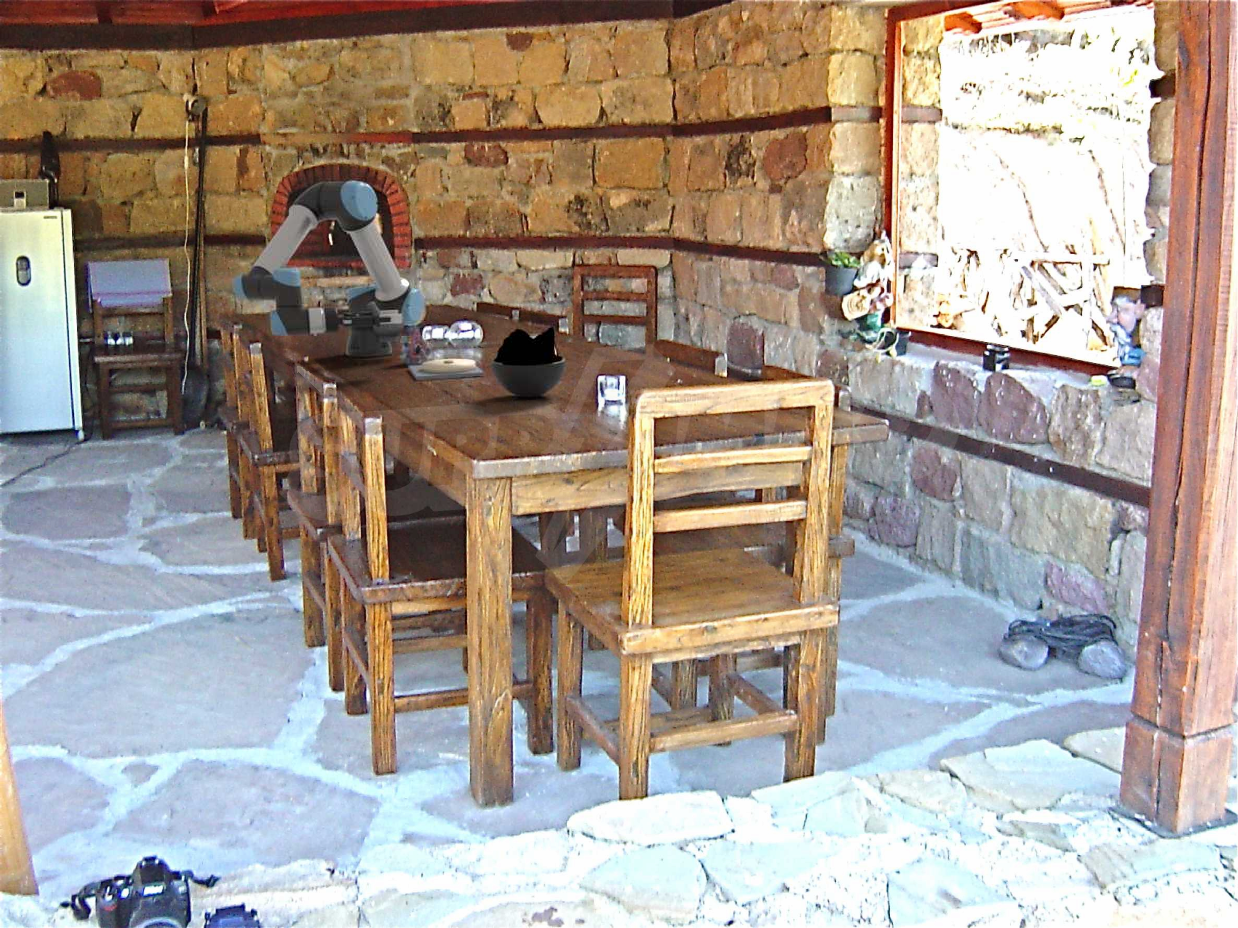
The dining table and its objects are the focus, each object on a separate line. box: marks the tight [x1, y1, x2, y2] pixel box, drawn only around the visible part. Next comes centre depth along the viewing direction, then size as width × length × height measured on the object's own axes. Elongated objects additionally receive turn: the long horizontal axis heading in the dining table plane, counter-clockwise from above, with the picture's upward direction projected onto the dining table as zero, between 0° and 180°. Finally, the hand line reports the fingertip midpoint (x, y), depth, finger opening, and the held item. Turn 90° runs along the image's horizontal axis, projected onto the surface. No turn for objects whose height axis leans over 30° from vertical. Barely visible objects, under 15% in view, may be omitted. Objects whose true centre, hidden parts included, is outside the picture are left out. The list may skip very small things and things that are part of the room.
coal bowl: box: [490, 326, 567, 398], centre depth 355 cm, size 20×20×19 cm
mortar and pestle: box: [367, 302, 405, 343], centre depth 394 cm, size 11×9×12 cm
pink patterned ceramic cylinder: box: [397, 329, 435, 367], centre depth 420 cm, size 11×11×12 cm
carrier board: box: [408, 358, 485, 381], centre depth 401 cm, size 22×20×4 cm
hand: (400, 316), depth 395 cm, fingers closed on mortar and pestle, 10 cm apart
